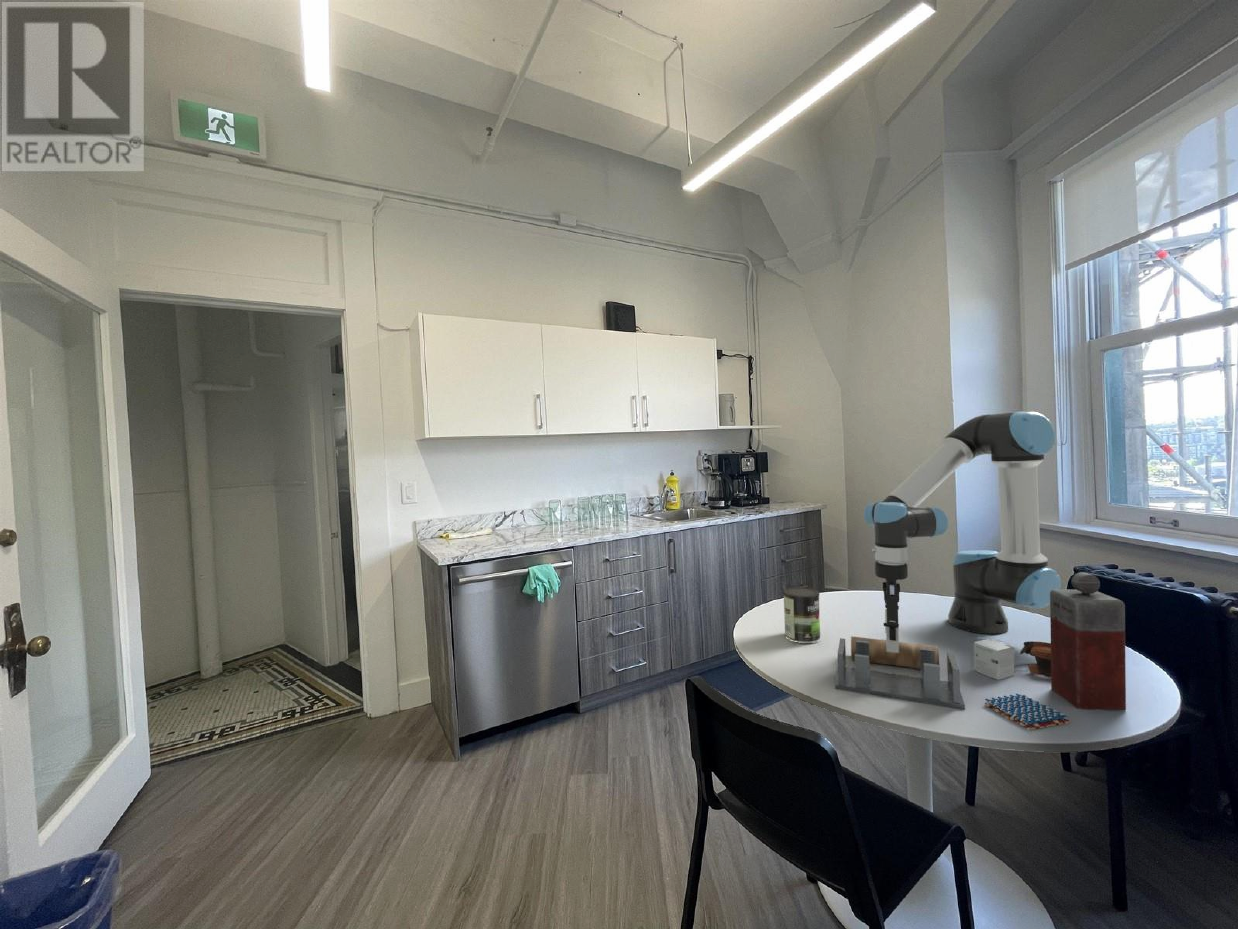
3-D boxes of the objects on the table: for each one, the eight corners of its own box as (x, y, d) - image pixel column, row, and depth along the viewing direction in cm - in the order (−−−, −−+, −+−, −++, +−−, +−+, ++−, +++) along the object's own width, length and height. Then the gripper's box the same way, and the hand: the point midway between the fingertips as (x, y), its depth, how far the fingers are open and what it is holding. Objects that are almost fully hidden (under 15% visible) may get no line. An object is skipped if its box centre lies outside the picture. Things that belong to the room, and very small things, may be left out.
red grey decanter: (1088, 685, 118) (1086, 566, 117) (1126, 711, 107) (1125, 578, 106) (1044, 684, 119) (1042, 566, 118) (1078, 708, 108) (1076, 578, 107)
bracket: (957, 687, 120) (956, 651, 120) (965, 709, 110) (964, 671, 110) (837, 669, 132) (836, 637, 131) (834, 688, 122) (833, 653, 121)
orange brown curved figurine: (1014, 672, 127) (1011, 639, 130) (1034, 681, 130) (1031, 648, 134) (1074, 677, 117) (1069, 640, 120) (1094, 686, 120) (1089, 650, 124)
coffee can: (827, 637, 153) (825, 590, 153) (809, 647, 147) (808, 598, 146) (795, 629, 161) (794, 584, 161) (777, 638, 154) (776, 592, 154)
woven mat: (1029, 734, 101) (1029, 724, 101) (982, 707, 112) (982, 698, 112) (1072, 726, 103) (1072, 716, 103) (1022, 700, 114) (1021, 691, 113)
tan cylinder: (937, 665, 132) (936, 642, 132) (939, 675, 127) (939, 651, 126) (852, 654, 141) (851, 633, 141) (851, 663, 136) (850, 641, 135)
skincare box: (973, 670, 128) (972, 641, 128) (989, 666, 130) (989, 637, 130) (998, 680, 122) (998, 650, 122) (1015, 675, 124) (1014, 646, 124)
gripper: (874, 551, 146) (875, 625, 146) (874, 571, 123) (875, 658, 124) (904, 553, 142) (905, 628, 143) (910, 574, 120) (911, 663, 121)
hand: (891, 642), depth 133 cm, fingers open, 13 cm apart
